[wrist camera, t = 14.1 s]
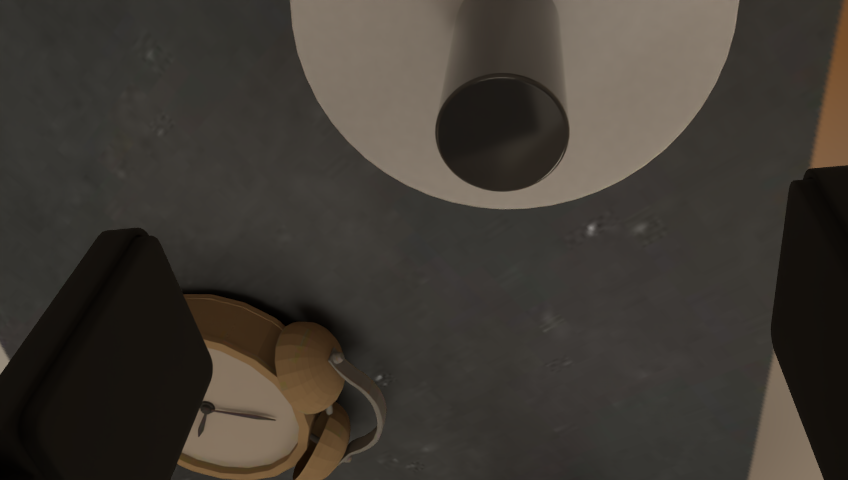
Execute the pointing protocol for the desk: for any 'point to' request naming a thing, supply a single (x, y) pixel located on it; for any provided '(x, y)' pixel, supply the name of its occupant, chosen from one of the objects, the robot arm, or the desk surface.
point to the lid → (512, 88)
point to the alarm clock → (272, 397)
